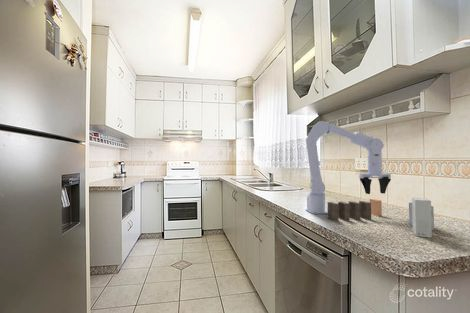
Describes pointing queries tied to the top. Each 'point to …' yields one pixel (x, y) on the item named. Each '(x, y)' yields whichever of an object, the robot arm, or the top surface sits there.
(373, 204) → the peach block
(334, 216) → the dark tile
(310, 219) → the top surface
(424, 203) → the skincare box
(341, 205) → the dark tile
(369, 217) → the domino block
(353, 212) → the dark tile
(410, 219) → the medicine box
